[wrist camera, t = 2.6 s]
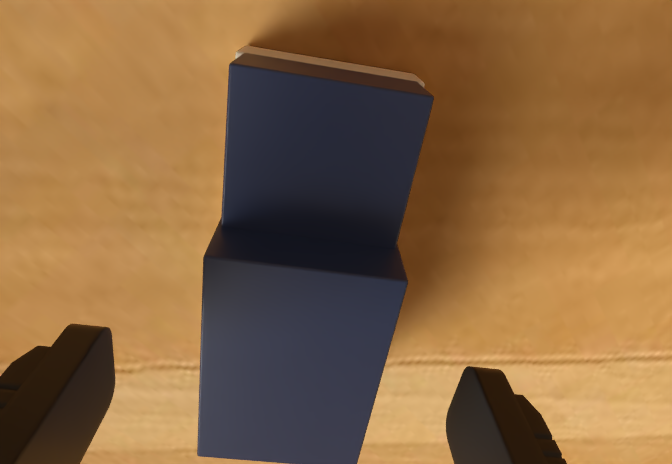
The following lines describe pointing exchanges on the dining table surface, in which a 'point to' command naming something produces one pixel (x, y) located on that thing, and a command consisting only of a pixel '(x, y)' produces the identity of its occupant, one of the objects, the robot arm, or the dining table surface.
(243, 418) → the blue stepped block
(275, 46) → the dining table surface
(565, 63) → the dining table surface
